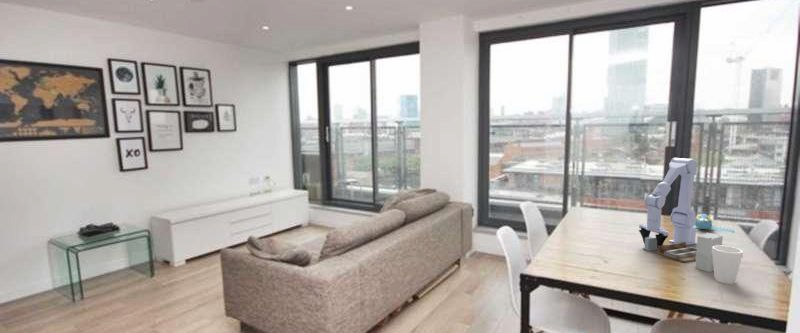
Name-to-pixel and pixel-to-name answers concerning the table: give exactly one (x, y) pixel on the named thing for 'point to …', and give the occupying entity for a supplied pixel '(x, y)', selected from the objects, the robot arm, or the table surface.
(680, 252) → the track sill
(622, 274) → the table surface
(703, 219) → the blue toy animal
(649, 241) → the door panel
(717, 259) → the foam cup
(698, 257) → the skincare box
